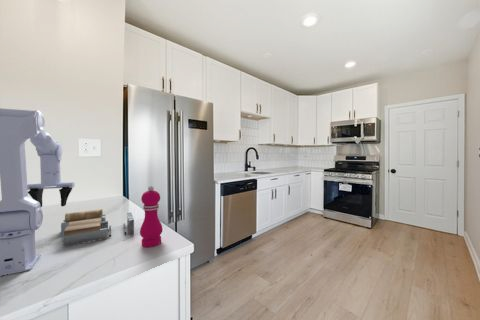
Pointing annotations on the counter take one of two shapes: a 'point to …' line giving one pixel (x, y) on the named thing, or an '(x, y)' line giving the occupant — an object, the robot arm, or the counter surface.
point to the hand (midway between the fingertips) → (51, 206)
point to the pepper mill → (151, 219)
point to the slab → (82, 226)
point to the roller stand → (64, 224)
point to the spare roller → (83, 215)
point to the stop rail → (130, 223)
